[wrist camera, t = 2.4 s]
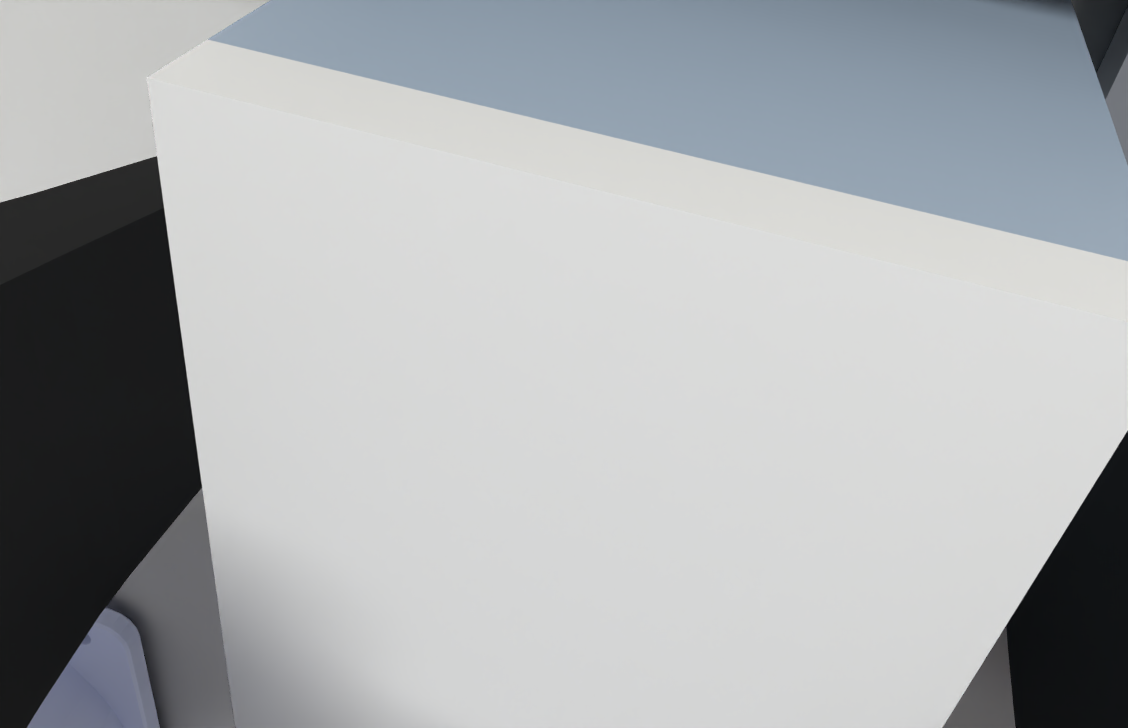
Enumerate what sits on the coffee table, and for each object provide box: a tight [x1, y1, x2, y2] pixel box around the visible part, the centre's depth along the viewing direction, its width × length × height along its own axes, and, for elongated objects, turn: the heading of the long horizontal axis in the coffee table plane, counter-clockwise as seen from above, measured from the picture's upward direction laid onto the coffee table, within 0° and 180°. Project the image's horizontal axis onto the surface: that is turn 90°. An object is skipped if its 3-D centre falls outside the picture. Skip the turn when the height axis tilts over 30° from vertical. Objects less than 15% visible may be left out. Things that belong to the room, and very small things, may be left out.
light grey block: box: [146, 0, 1128, 728], centre depth 9 cm, size 4×7×6 cm, turn 172°
